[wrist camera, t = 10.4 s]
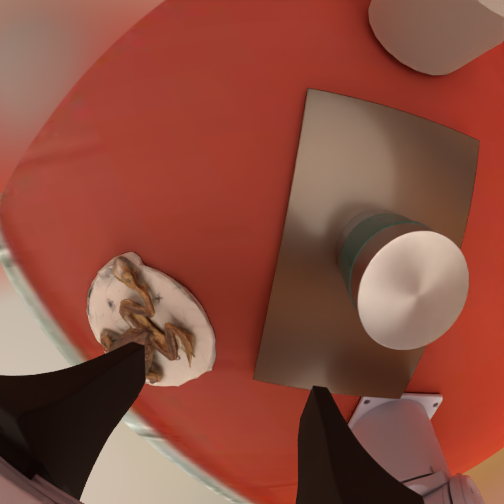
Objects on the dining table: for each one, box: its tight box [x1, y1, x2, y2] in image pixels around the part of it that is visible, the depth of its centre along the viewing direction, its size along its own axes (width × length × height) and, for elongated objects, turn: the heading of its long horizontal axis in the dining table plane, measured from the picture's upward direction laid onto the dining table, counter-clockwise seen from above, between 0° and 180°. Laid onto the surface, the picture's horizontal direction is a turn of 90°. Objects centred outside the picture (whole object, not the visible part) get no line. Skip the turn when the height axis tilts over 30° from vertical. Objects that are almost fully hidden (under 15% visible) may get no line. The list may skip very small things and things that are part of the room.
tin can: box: [336, 210, 469, 350], centre depth 14 cm, size 5×5×7 cm
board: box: [253, 88, 480, 399], centre depth 18 cm, size 20×12×1 cm, turn 171°
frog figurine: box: [87, 252, 216, 386], centre depth 21 cm, size 12×12×4 cm
